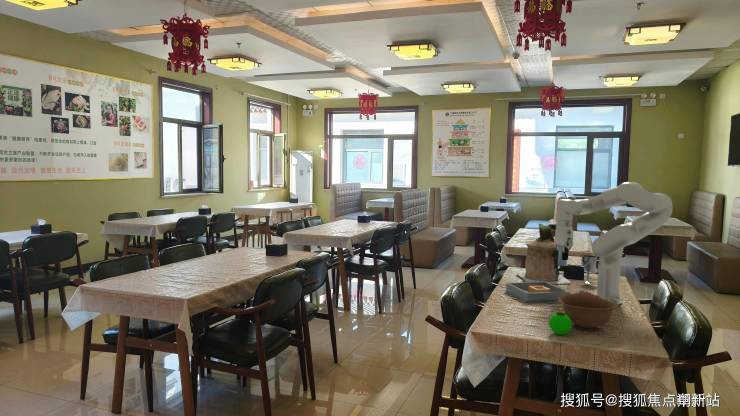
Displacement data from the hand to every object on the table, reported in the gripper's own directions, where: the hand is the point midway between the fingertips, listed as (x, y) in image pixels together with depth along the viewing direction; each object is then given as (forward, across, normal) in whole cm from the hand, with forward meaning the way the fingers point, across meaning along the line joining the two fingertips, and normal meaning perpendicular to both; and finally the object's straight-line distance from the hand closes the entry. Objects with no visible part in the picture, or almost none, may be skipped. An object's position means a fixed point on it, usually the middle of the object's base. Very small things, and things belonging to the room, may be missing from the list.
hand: (562, 258), depth 254 cm
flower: (+17, -36, +9) cm, 41 cm away
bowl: (+17, -55, +22) cm, 62 cm away
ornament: (+17, -62, +36) cm, 74 cm away
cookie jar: (+18, +30, -6) cm, 35 cm away
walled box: (+17, -6, +17) cm, 25 cm away
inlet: (+17, -3, +14) cm, 22 cm away
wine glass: (+18, +20, -28) cm, 38 cm away
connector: (+3, 0, 0) cm, 3 cm away
